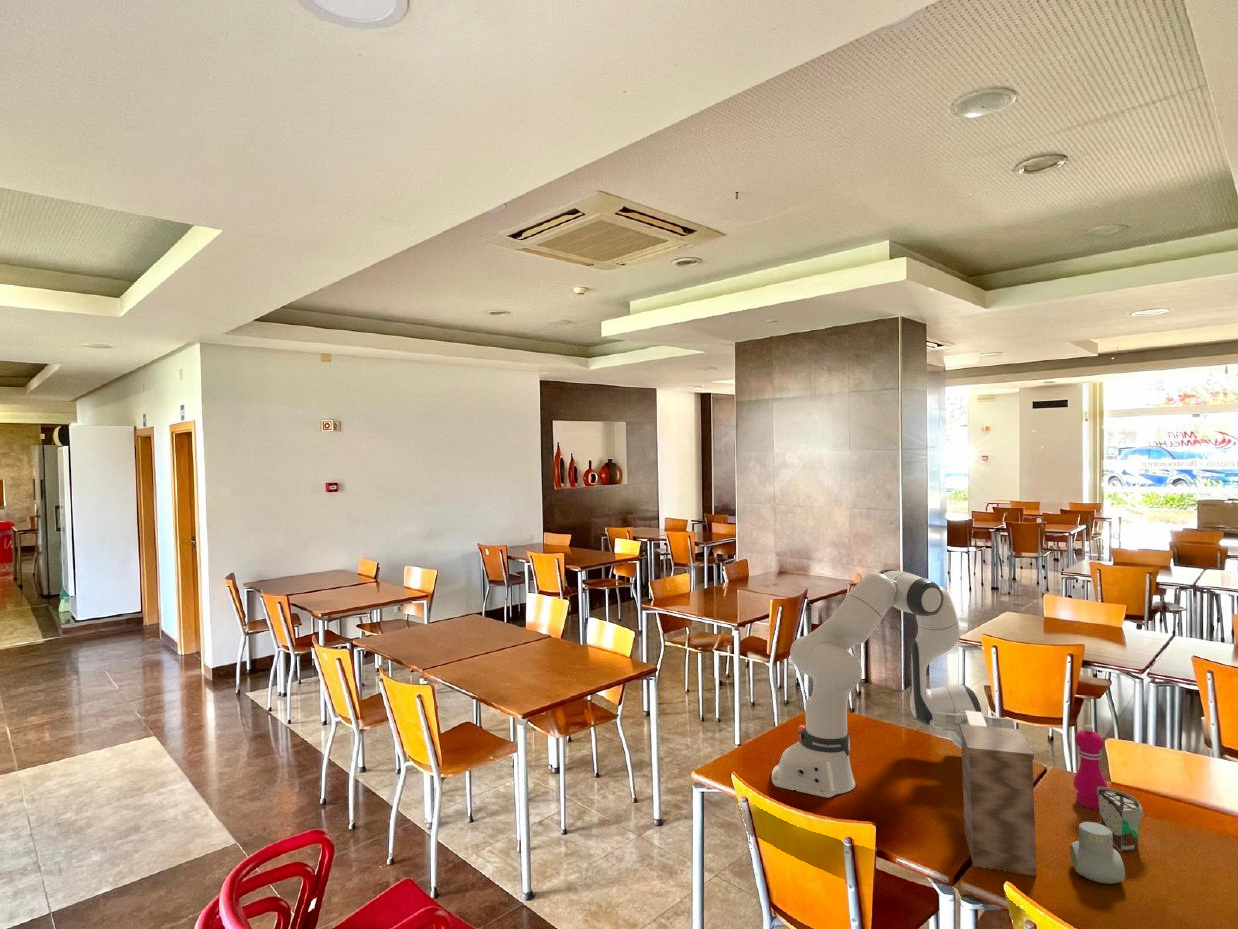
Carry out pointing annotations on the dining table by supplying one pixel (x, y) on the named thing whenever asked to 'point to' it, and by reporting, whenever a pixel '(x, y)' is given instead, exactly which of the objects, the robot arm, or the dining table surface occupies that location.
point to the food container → (1120, 817)
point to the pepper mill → (1089, 768)
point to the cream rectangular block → (975, 718)
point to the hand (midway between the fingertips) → (975, 718)
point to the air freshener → (1096, 854)
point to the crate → (998, 798)
